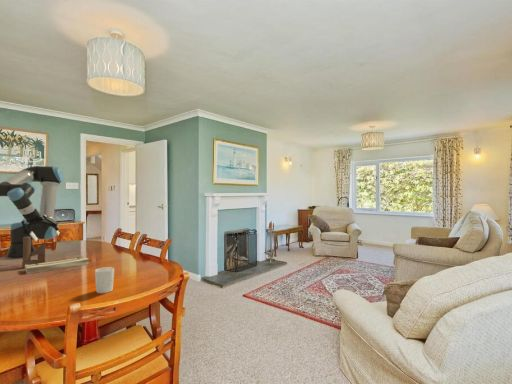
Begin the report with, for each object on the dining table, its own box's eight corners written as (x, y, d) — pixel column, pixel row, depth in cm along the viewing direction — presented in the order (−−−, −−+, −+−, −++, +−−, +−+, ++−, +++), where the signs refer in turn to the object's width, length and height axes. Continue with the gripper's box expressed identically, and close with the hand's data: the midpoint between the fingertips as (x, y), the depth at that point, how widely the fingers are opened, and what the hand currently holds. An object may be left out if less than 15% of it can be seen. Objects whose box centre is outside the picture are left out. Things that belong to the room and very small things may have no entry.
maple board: (24, 270, 160) (24, 264, 160) (84, 261, 182) (84, 256, 182) (27, 274, 153) (27, 268, 153) (88, 264, 175) (88, 259, 175)
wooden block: (45, 265, 170) (45, 236, 170) (22, 268, 164) (22, 237, 164) (45, 264, 173) (45, 235, 173) (22, 266, 167) (22, 236, 167)
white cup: (99, 288, 133) (99, 267, 133) (116, 287, 134) (117, 266, 134) (91, 294, 125) (91, 271, 125) (109, 293, 126) (109, 271, 126)
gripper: (3, 220, 167) (24, 246, 178) (48, 209, 170) (66, 235, 181) (9, 213, 173) (29, 239, 184) (52, 202, 176) (69, 228, 188)
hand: (47, 237), depth 183 cm, fingers open, 13 cm apart
